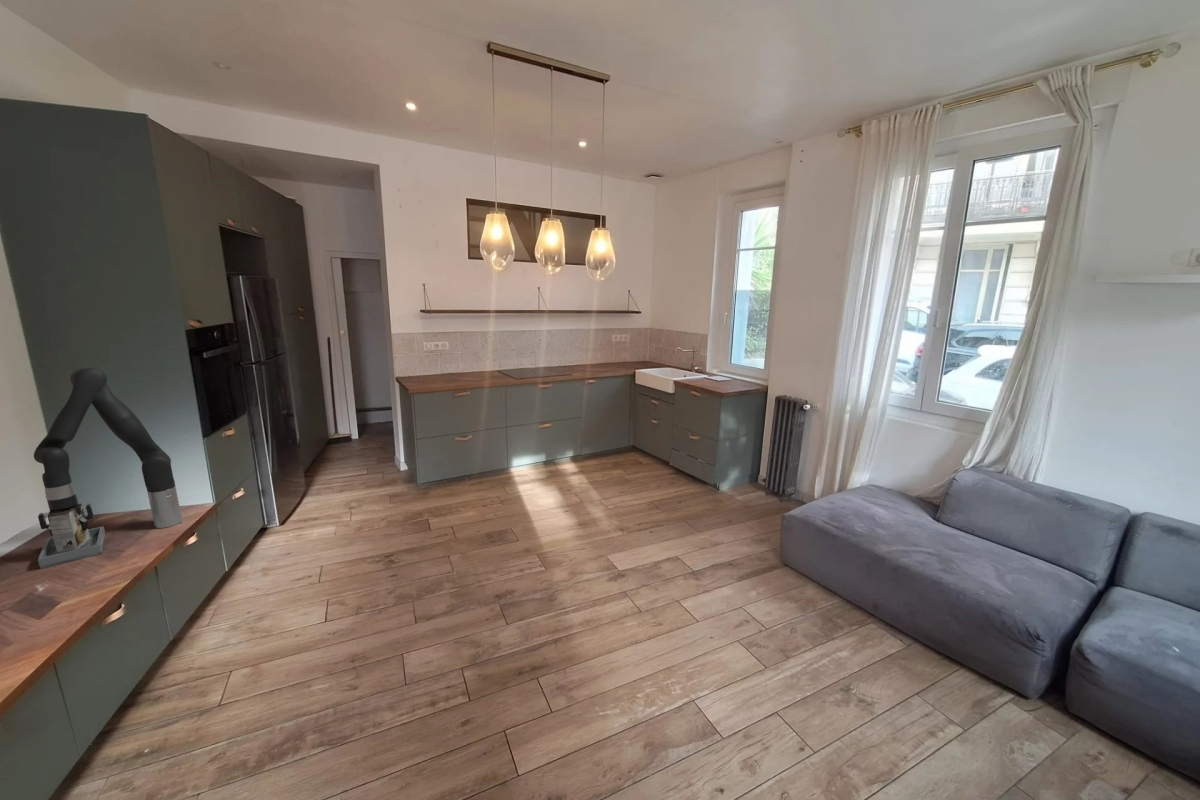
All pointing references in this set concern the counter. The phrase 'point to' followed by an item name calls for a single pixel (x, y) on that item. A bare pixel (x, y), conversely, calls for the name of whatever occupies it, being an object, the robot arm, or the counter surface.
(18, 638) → the counter surface
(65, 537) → the coffee box
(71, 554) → the box
